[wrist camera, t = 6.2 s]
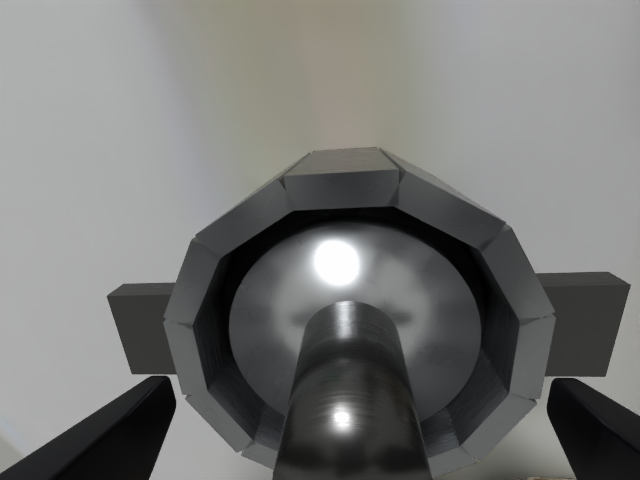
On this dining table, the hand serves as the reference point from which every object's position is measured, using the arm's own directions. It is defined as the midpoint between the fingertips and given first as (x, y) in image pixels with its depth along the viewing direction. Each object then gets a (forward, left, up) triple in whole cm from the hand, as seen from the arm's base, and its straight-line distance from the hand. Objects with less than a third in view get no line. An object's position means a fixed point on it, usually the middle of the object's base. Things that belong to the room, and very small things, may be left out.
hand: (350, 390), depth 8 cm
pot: (0, 0, -8) cm, 8 cm away
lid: (0, 0, -3) cm, 3 cm away
